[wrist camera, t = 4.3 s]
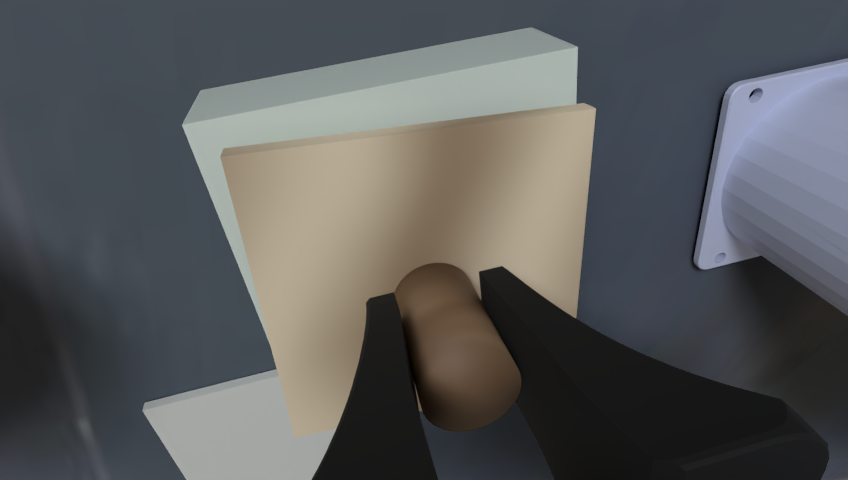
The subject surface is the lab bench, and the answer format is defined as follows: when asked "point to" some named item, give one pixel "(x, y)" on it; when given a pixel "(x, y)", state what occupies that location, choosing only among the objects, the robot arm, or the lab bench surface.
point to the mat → (236, 432)
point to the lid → (411, 249)
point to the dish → (376, 102)
